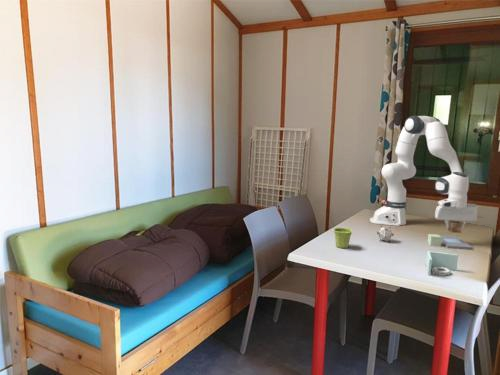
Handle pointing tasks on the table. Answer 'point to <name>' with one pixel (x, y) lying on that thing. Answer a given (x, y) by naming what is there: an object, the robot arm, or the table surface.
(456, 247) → the board
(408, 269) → the table surface
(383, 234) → the white spiky ball
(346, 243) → the plant pot
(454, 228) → the walnut cube
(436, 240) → the green cube
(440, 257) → the l-shaped corner panel
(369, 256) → the table surface
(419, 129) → the robot arm
